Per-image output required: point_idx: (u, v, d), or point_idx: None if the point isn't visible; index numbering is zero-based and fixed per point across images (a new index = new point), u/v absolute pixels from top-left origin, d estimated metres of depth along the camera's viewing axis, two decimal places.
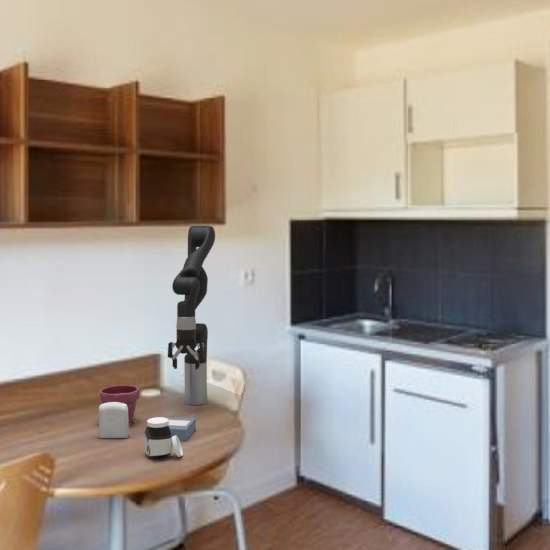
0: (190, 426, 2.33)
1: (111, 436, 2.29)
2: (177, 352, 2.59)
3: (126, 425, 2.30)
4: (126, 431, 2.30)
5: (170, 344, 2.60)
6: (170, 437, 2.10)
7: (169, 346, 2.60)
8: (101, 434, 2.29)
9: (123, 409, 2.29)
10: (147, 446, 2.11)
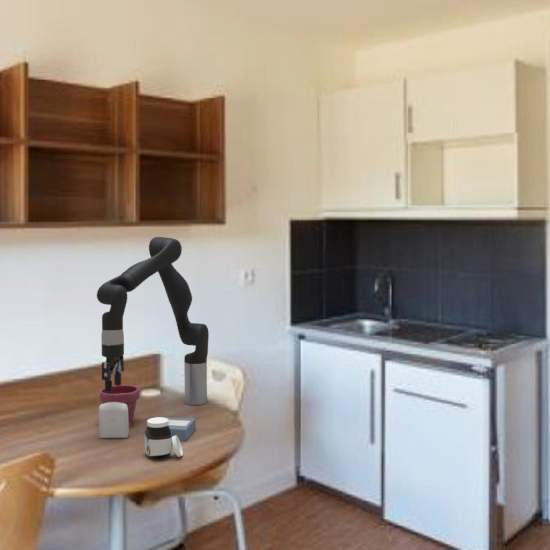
0: (190, 426, 2.33)
1: (111, 436, 2.29)
2: (114, 371, 2.26)
3: (126, 425, 2.30)
4: (126, 431, 2.30)
5: None
6: (170, 437, 2.10)
7: (109, 367, 2.23)
8: (101, 434, 2.29)
9: (123, 409, 2.29)
10: (147, 446, 2.11)
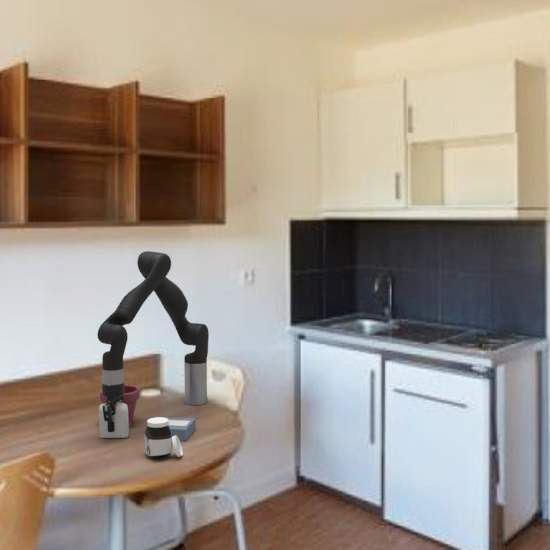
0: (190, 426, 2.33)
1: (111, 436, 2.29)
2: (115, 411, 2.28)
3: (126, 425, 2.30)
4: (126, 431, 2.30)
5: (110, 407, 2.25)
6: (170, 437, 2.10)
7: (110, 410, 2.24)
8: (101, 434, 2.29)
9: (124, 409, 2.29)
10: (147, 446, 2.11)
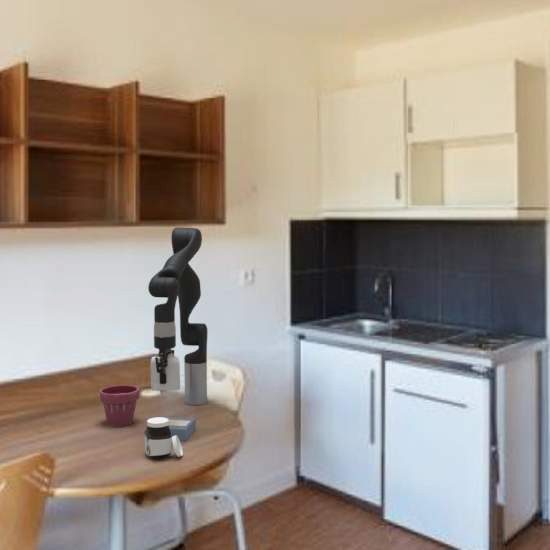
0: (190, 426, 2.33)
1: (163, 388, 2.32)
2: (167, 363, 2.30)
3: (178, 377, 2.32)
4: (177, 384, 2.32)
5: (162, 358, 2.26)
6: (170, 437, 2.10)
7: (162, 361, 2.26)
8: (153, 386, 2.32)
9: (175, 361, 2.31)
10: (147, 446, 2.11)
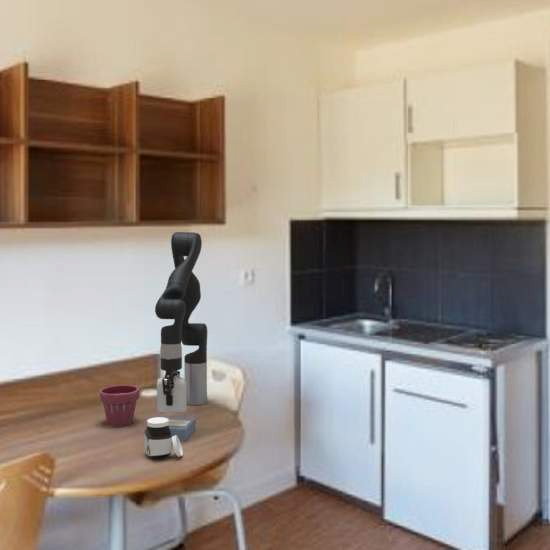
0: (190, 426, 2.33)
1: (169, 409, 2.32)
2: (174, 385, 2.31)
3: (184, 399, 2.33)
4: (184, 405, 2.32)
5: None
6: (170, 437, 2.10)
7: (169, 383, 2.27)
8: (159, 408, 2.32)
9: (182, 383, 2.32)
10: (147, 446, 2.11)
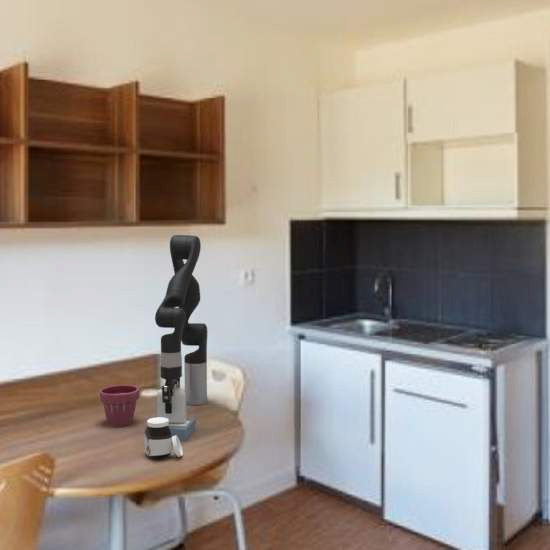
0: (190, 426, 2.33)
1: (169, 421, 2.33)
2: (173, 393, 2.31)
3: (184, 410, 2.33)
4: (183, 416, 2.33)
5: None
6: (170, 437, 2.10)
7: (169, 390, 2.27)
8: None
9: (181, 394, 2.32)
10: (147, 446, 2.11)
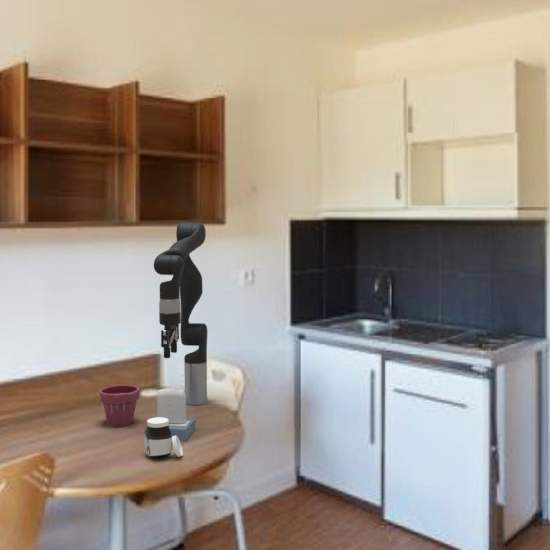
0: (190, 426, 2.33)
1: (169, 421, 2.33)
2: (172, 338, 2.35)
3: (184, 411, 2.33)
4: (183, 417, 2.33)
5: None
6: (170, 437, 2.10)
7: (168, 334, 2.31)
8: None
9: (182, 394, 2.32)
10: (147, 446, 2.11)
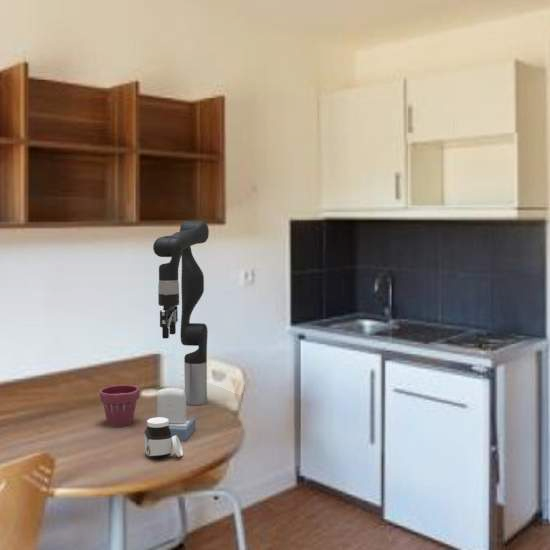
0: (190, 426, 2.33)
1: (169, 421, 2.33)
2: (171, 319, 2.40)
3: (184, 411, 2.33)
4: (183, 417, 2.33)
5: None
6: (170, 437, 2.10)
7: (166, 314, 2.36)
8: None
9: (181, 394, 2.32)
10: (147, 446, 2.11)
